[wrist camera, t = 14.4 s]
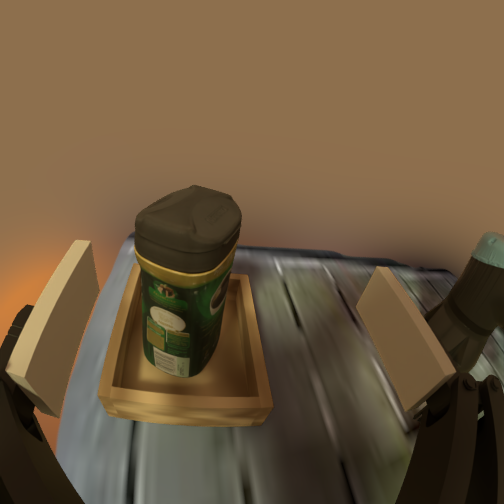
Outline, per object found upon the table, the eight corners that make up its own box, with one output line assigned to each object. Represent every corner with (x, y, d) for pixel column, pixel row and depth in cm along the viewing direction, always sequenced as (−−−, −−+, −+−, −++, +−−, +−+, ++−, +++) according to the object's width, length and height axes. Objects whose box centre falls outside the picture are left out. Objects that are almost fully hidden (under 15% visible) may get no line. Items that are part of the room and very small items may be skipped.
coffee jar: (171, 309, 35) (180, 172, 26) (226, 331, 34) (257, 194, 25) (132, 360, 27) (115, 205, 18) (195, 390, 26) (216, 239, 17)
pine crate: (241, 300, 42) (247, 274, 39) (261, 425, 25) (273, 406, 22) (135, 290, 38) (133, 263, 35) (108, 415, 22) (97, 394, 19)
